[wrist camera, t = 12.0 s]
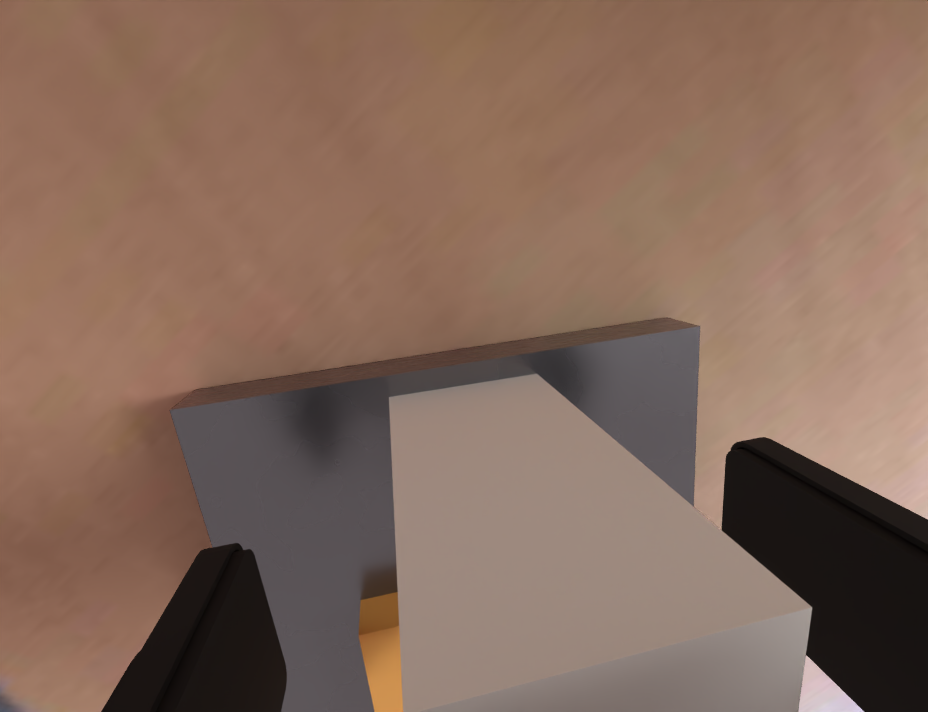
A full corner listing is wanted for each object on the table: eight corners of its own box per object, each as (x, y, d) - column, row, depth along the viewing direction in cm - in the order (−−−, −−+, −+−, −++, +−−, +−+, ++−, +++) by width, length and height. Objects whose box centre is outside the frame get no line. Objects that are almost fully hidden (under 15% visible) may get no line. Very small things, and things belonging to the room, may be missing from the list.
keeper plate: (195, 389, 12) (-207, 707, 4) (667, 317, 14) (1067, 423, 6) (303, 758, 16) (217, 1313, 8) (662, 659, 18) (900, 1013, 10)
